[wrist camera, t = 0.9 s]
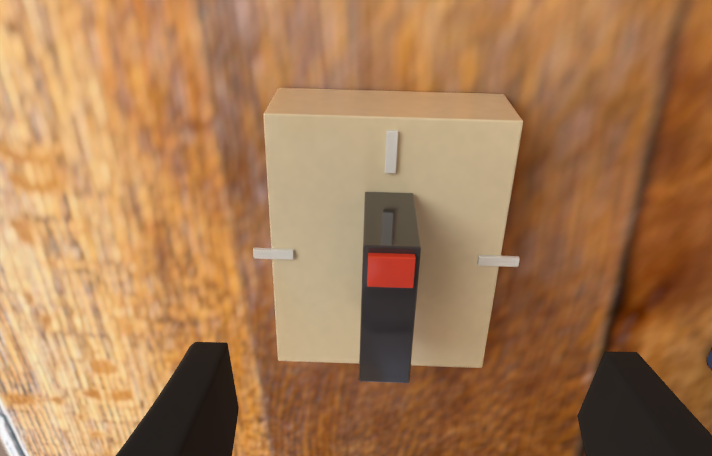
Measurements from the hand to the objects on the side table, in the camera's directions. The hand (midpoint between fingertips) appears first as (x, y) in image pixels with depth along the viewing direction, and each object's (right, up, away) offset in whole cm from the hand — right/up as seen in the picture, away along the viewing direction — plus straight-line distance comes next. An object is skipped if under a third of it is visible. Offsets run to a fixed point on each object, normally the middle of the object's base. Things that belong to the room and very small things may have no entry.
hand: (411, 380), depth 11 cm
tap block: (0, +3, +11) cm, 12 cm away
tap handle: (0, +2, +9) cm, 9 cm away
